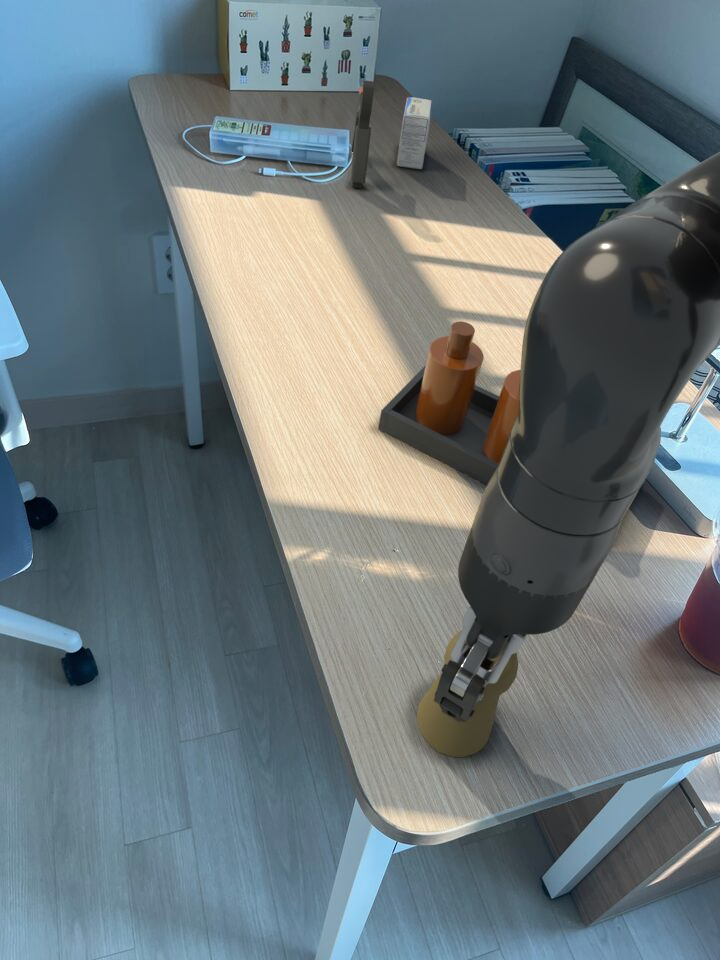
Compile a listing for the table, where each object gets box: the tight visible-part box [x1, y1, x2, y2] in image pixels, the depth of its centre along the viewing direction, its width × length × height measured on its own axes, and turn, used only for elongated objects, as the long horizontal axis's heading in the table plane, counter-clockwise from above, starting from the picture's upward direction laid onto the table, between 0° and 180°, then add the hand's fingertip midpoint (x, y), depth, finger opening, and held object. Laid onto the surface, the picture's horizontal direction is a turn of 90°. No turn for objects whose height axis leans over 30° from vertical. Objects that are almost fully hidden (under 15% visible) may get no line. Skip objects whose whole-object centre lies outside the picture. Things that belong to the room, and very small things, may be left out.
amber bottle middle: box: [483, 369, 521, 463], centre depth 77 cm, size 6×6×12 cm
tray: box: [377, 364, 500, 486], centre depth 81 cm, size 27×11×3 cm, turn 58°
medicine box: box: [396, 96, 433, 170], centre depth 127 cm, size 8×4×9 cm, turn 174°
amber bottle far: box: [415, 321, 484, 434], centre depth 79 cm, size 6×6×12 cm
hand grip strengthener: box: [350, 80, 375, 189], centre depth 119 cm, size 2×12×15 cm, turn 1°
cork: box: [416, 629, 519, 758], centre depth 56 cm, size 6×6×11 cm
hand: (472, 680), depth 56 cm, fingers closed on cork, 5 cm apart
